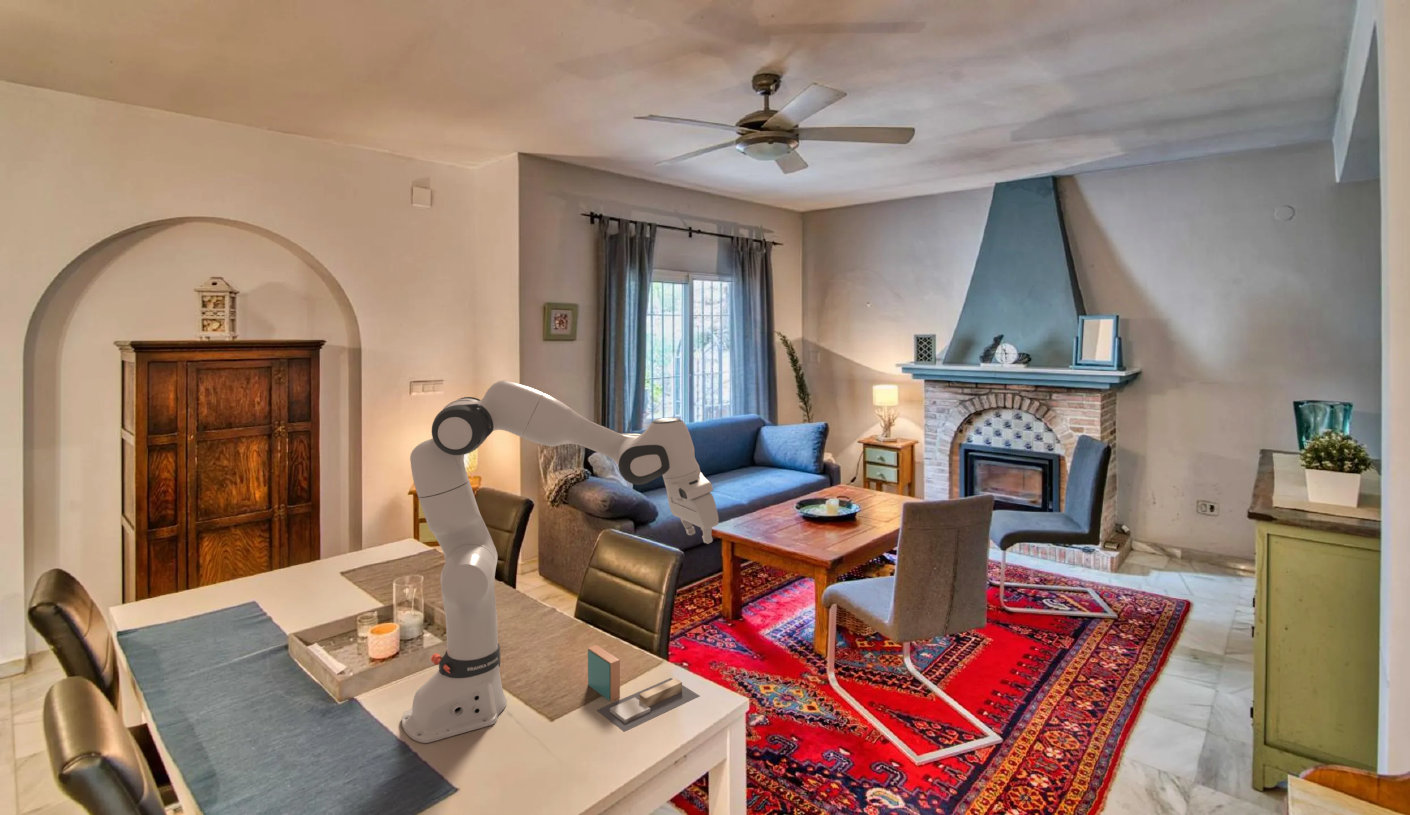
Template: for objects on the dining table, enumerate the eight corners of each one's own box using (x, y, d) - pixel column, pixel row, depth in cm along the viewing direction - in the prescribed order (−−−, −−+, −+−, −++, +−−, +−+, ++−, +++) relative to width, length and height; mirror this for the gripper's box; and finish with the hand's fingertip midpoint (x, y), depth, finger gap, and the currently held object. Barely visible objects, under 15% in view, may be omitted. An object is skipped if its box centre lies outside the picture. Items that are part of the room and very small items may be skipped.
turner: (625, 722, 150) (625, 712, 150) (609, 711, 155) (609, 701, 154) (686, 694, 162) (686, 685, 162) (671, 684, 167) (671, 675, 166)
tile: (610, 703, 159) (610, 663, 158) (587, 686, 166) (586, 648, 165) (619, 699, 161) (619, 659, 160) (596, 683, 168) (596, 644, 167)
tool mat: (624, 734, 147) (624, 731, 147) (596, 712, 155) (596, 709, 155) (700, 698, 162) (700, 695, 162) (670, 680, 170) (670, 677, 170)
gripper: (656, 482, 167) (671, 534, 169) (690, 494, 148) (706, 552, 150) (678, 473, 169) (693, 524, 171) (715, 484, 151) (730, 541, 153)
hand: (699, 538), depth 161 cm, fingers open, 8 cm apart
